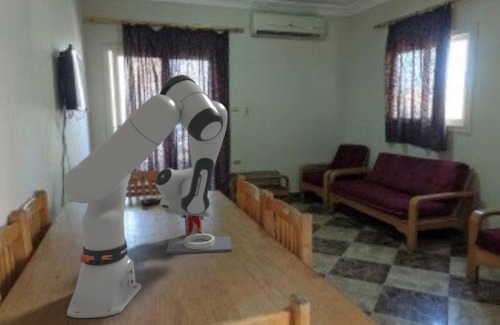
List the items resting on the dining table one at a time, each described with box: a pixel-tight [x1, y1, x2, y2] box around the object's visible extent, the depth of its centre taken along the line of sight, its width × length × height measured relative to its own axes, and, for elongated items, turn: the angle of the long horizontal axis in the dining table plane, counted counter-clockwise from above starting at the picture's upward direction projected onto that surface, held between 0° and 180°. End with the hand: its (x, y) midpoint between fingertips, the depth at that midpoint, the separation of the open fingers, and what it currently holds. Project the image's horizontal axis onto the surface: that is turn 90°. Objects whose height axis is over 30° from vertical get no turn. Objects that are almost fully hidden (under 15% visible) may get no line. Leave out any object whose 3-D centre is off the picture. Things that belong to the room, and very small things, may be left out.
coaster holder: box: [165, 233, 232, 255], centre depth 150 cm, size 14×24×3 cm, turn 94°
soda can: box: [184, 215, 203, 237], centre depth 162 cm, size 7×7×12 cm
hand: (194, 217), depth 161 cm, fingers open, 8 cm apart
